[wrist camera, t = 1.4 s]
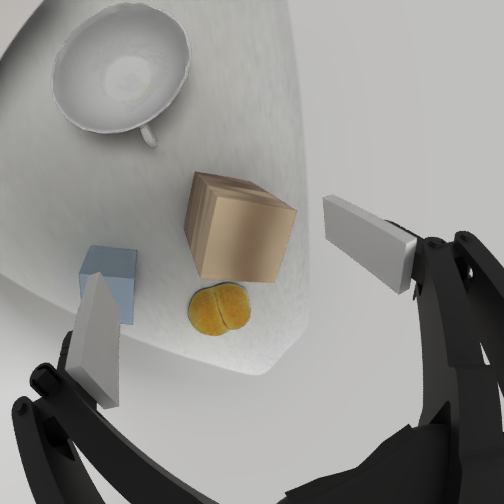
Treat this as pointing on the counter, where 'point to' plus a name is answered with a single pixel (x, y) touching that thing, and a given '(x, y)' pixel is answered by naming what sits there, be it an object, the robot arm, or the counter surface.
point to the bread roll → (219, 309)
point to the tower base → (196, 194)
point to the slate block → (113, 275)
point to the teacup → (121, 69)
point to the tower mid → (240, 234)
